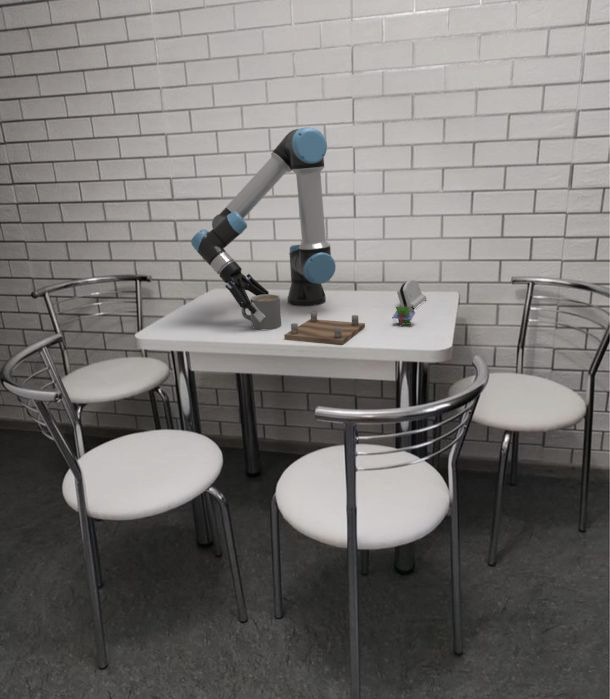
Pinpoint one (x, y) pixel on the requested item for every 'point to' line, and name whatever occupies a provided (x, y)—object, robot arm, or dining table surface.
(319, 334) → the standoff board
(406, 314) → the geometric puzzle
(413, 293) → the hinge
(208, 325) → the dining table surface
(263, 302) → the coffee mug
